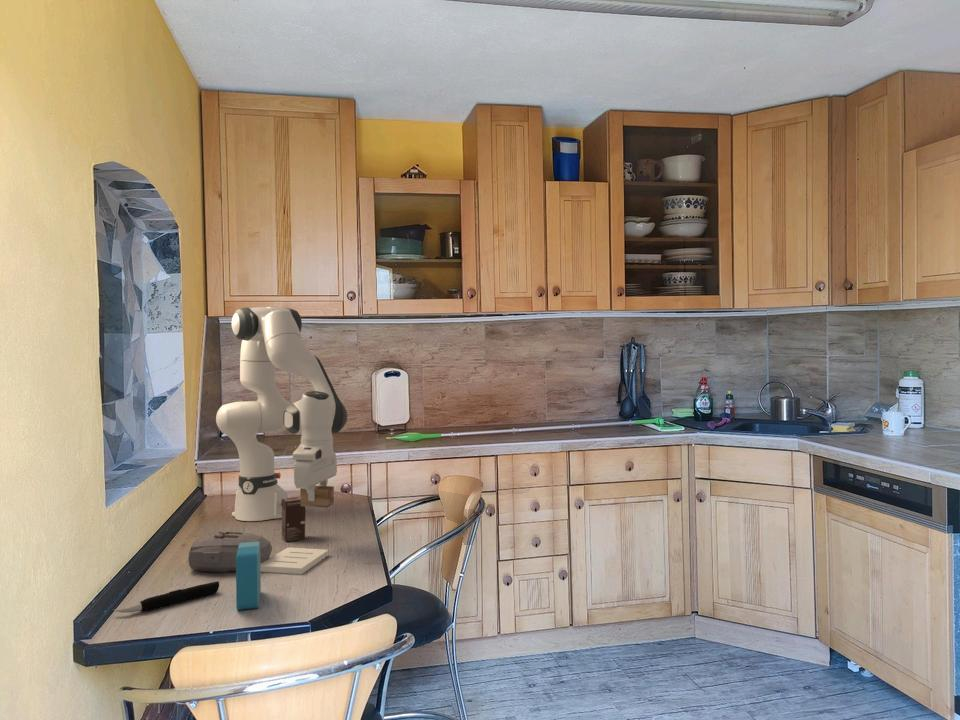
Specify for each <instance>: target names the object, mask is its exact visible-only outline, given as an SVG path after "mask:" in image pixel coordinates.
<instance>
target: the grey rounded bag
mask: <svg viewBox="0 0 960 720" xmlns="http://www.w3.org/2000/svg"><path fill="white" fill-rule="evenodd" d="M246 542H260V564H261V563H263V562H265V561H266V560H268V559H269V558H271V554H272V550H273V547H272V543H271V541H270V540H269V539H267V538H265V537H264V536H262V535H258V534H254V533H251V532H237V531H236V532H235V531H226V532H223V531H218V533H215V534H211V535H207V536H203V537H200V538H198V539H197V540H195V542H193V543H192V544H191V547H190V549H189V552H188V564H189V565H188V566H189V567H190V569H191V570H194V571H195V570H196V571H201V572H202V571H203V572H212V573H213V572H214V573H215V572H216V573H227V572H236V555H237V551H238V547H239V544H240V543H246Z"/></svg>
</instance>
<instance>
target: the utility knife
mask: <svg viewBox="0 0 960 720" xmlns="http://www.w3.org/2000/svg"><path fill="white" fill-rule="evenodd" d="M219 588H220V581H219V580H218V581H217V580H216V581H213V582H207V583H203V584H198V585H194V586H190V587H186V588H182V589H175V590H171V591H168V592H166V593H164V594H159V595H155V596H151V597H147V598H144V599H143V600H141V601H140V602H138V603H134V604H132V605H130V606H126V607H123V608H122V607H121V608H117V609H113V611H114V612H118V613H122V614H123V613H125V614H126V613H135V612H141V613H142V612H143V613H145V611H147V612H151V611H154V610H155V609H156V610H158V609H162V608H165V607H166V608H167V607H170V605H171V606H175V605H178V604H182V603H185V602H188V601H189V602H190V601H193V600H197V599H200V598H205V597H208V596H211V595H214V594H217V592H218V591H219ZM174 604H175V605H174Z"/></svg>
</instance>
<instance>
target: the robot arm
mask: <svg viewBox="0 0 960 720" xmlns="http://www.w3.org/2000/svg"><path fill="white" fill-rule="evenodd" d="M302 323H303V322H302V317H301V315H300V313H299V312H298V311H297V310H295V309H294V308H289V307H285V308H283V307H275V306H266V307H263V306H262V307H259V306H258V307H246V306H245V307H241V308H237V309H236V310H235V311H234V313H233V314H232V317H231V330H232V333H233V336H235V338H236V339H238V340H241V343H240V345H241V346H240V351H239V353H240V354H239V355H240V356H239V381H240V384H241V385H242V386H243V387H244V388H245V389H248V390H250V391H251V392H254V393H256V395H257V399H256V400H250V401H249V400H248V401H247V400H246V401H234V402H231V403H230V402H229V403H225V404H222V405H221V406H220V408H219V409H218V410H217V412H216V417H215V422H216V426H217V428H218V430H220V432H221V433H223V434H224V435H225V436H227V437H228V438H229V439H230V440H231V441H232V442H233V443H234V445H235V448H236V449H237V454H238V459H239V460H238V461H239V475H238V480H237V482H238V487H239V489H237V490H236V492H235V502H234V503H235V504H234V511H232V512H231V516H232V517H234V519H236V521H237V520H238V521H244V522H260V521H267V520H273V519H282V499H285V498H289V497H288V492H287V491H286V490H285V489H284V488H283V487H281V485H279V484H278V479H281V477H282V474H281V472H275V452H274V450H273V448H272V447H270V446H269V445H267V444H265V443H262V442H261V441H258V439H257V434H267V433H268V434H269V433H278V432H282V431H286V430H287V432H288V433H289V434H292V435H297V436H301V437H300V444H299V445H298V447H297V448H296V449H295V450H294V451H293V453H292V460H293V461H294V464H293V483H294V486H295V488H296V489H299V490H300V489H306V491H307V493H308V500H309V501H314V500H316V494H315V491H314V489H315V486H317V485H318V484H319V485H318V486H328V483H329V482H328V480H329V479H332V478H333V477H335V476H336V475H337V472H338V465H337V464H338V462H337V461H338V460H337V455H336V452H335V451H334V436H333V434H338V433H340V431H342V429H344V427H345V426H346V425H347V422H348V412H347V408H346V407H345V405H344V404H343V402H342V401H341V399H340V398H339V396H338V395H337V392H336V390H335V388H334V386H333V384H332V382H331V380H330V378H329V376H328V374H327V372H326V370H325V367H324V365H323V364H322V362H321V360H320V358H319V357H318V356H316V355H315V354H313V353H312V352H311V351H310V350H309V349H308V347H307V346H306V344H305V342H304V340H303V338H302V333H301V332H302V327H303V324H302ZM275 367H276V368H277V369H278V370H281V371H283V372H286V373H289V374H293V375H297V376H299V377H302V378H304V379H306V380H308V382H310V384H311V385H312V387H313V389H314V390H310V391H307V392H306V391H305V393H303V394H302V396H301V398H300V399H299V400H297V401H295V402H292V403H291V402H290V401H288V400H287V399H286V398H285V397H283V395H282V394H281V393H280V391H279V389H278V386H277V383H276V382H277V381H276V368H275Z"/></svg>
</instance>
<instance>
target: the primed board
mask: <svg viewBox="0 0 960 720" xmlns="http://www.w3.org/2000/svg"><path fill="white" fill-rule="evenodd" d="M329 555H330V554H329V549H323V548H321V549H319V548H306V547H304V548H303V547H286V548H285V549H283V550H281V551H280V552H278V553H276V554H274V555H272V556H270V557H269V559H268V560H266V561H265V562H263V563H261V564H260V571H261V572H262V573H274V574H275V573H276V574H287V575H288V574H289V575H292V574H293V575H302V574H304V573H305V572H307V571H308V570H310V569H312V567H314V566H315V565H317V564H318V563H320V562H321V561H323V560H324V559H326V558H327V557H329ZM326 556H327V557H326ZM325 557H326V558H325ZM322 559H323V560H322Z"/></svg>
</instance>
